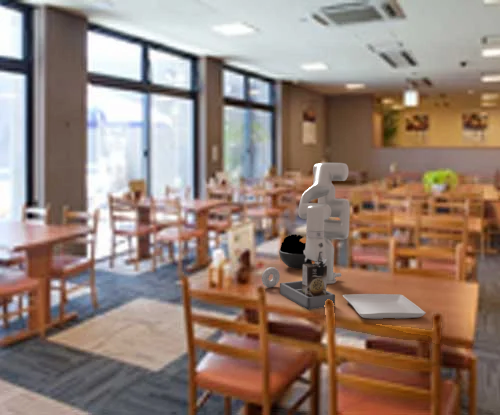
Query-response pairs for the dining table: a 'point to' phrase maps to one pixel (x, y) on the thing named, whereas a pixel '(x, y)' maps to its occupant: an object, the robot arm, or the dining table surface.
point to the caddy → (304, 296)
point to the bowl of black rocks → (293, 251)
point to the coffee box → (313, 281)
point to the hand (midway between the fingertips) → (314, 273)
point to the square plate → (384, 306)
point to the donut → (267, 273)
